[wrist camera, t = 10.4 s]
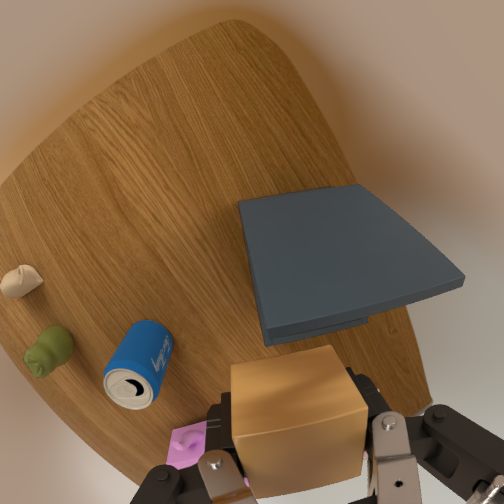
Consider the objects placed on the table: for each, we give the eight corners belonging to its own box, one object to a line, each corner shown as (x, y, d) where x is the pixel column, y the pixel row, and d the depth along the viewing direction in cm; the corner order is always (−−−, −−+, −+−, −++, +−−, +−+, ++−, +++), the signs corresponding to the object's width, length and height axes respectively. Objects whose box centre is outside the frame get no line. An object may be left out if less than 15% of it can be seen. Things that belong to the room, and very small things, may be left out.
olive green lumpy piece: (85, 345, 39) (56, 381, 29) (64, 355, 39) (35, 390, 29) (64, 314, 37) (29, 345, 28) (44, 326, 38) (11, 357, 28)
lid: (462, 286, 14) (466, 275, 14) (267, 339, 14) (265, 328, 13) (360, 191, 27) (360, 183, 27) (240, 210, 27) (238, 202, 27)
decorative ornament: (8, 274, 35) (-12, 284, 30) (39, 253, 35) (18, 262, 30) (19, 297, 36) (0, 309, 31) (50, 278, 36) (31, 290, 31)
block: (330, 343, 13) (369, 407, 8) (334, 413, 14) (361, 475, 9) (230, 363, 12) (231, 438, 8) (248, 430, 13) (254, 499, 9)
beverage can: (182, 350, 40) (167, 406, 28) (143, 362, 40) (121, 416, 28) (160, 311, 38) (136, 359, 26) (121, 325, 38) (89, 373, 27)
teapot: (269, 424, 44) (278, 473, 33) (237, 465, 46) (239, 510, 35) (180, 397, 41) (170, 447, 31) (159, 443, 44) (149, 489, 33)
